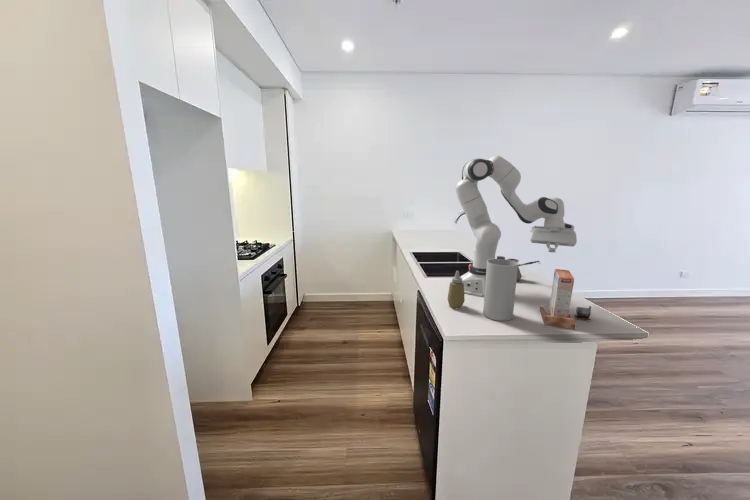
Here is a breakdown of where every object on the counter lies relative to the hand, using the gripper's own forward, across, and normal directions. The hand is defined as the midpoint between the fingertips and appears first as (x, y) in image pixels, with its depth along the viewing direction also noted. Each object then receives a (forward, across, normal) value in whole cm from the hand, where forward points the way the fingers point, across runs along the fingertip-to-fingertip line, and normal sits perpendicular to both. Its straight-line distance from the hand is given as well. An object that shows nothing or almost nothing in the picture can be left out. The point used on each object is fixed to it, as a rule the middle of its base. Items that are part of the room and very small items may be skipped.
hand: (552, 251), depth 152 cm
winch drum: (+32, +13, -3) cm, 35 cm away
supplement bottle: (0, -23, +46) cm, 51 cm away
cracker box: (+34, +3, -6) cm, 35 cm away
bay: (+35, +2, -7) cm, 36 cm away
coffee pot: (+6, -11, +36) cm, 39 cm away
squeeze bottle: (+38, -41, -9) cm, 57 cm away
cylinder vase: (+40, -22, -12) cm, 47 cm away
